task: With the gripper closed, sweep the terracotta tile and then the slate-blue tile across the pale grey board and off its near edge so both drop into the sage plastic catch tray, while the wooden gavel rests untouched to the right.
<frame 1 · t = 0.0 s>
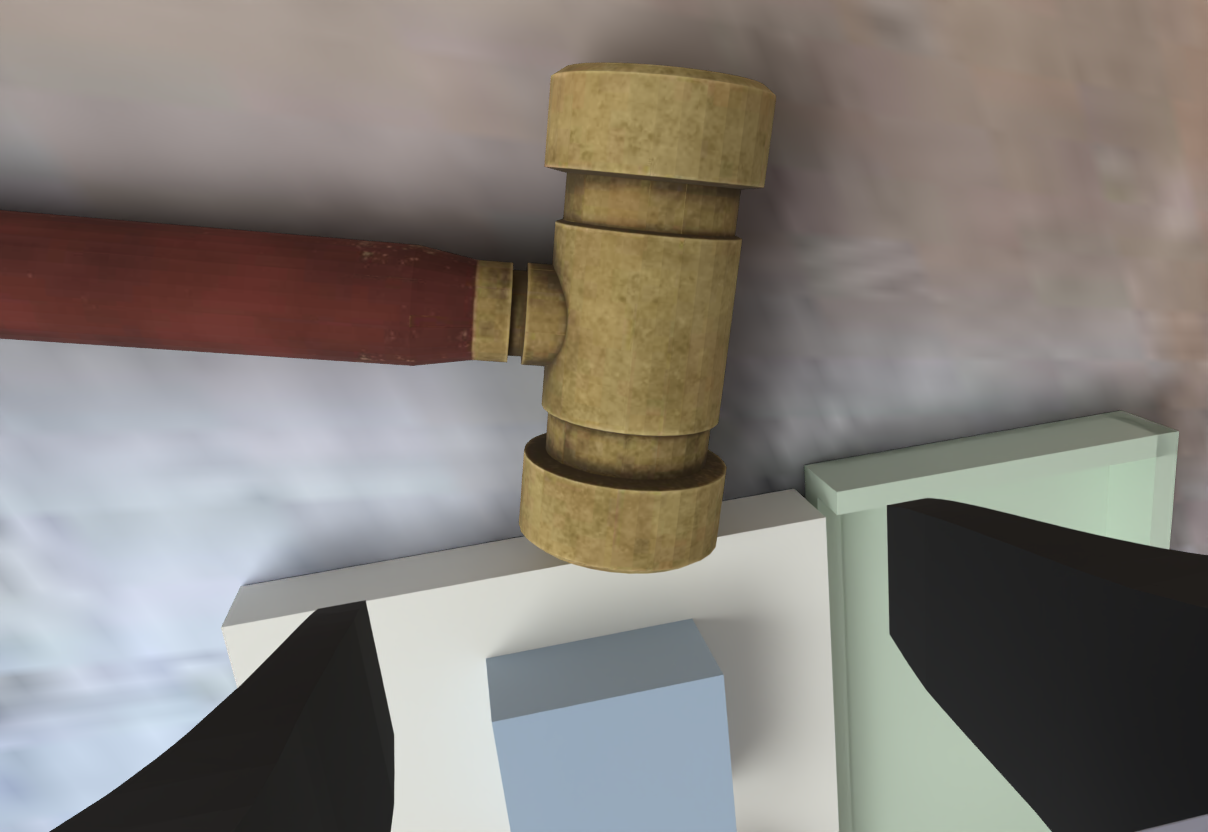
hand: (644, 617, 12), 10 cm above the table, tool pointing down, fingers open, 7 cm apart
tile slate: (602, 727, 22), point 2 cm above the table, touching board
gavel: (265, 281, 20), on the table
board: (568, 798, 24), on the table
tray: (964, 711, 26), on the table
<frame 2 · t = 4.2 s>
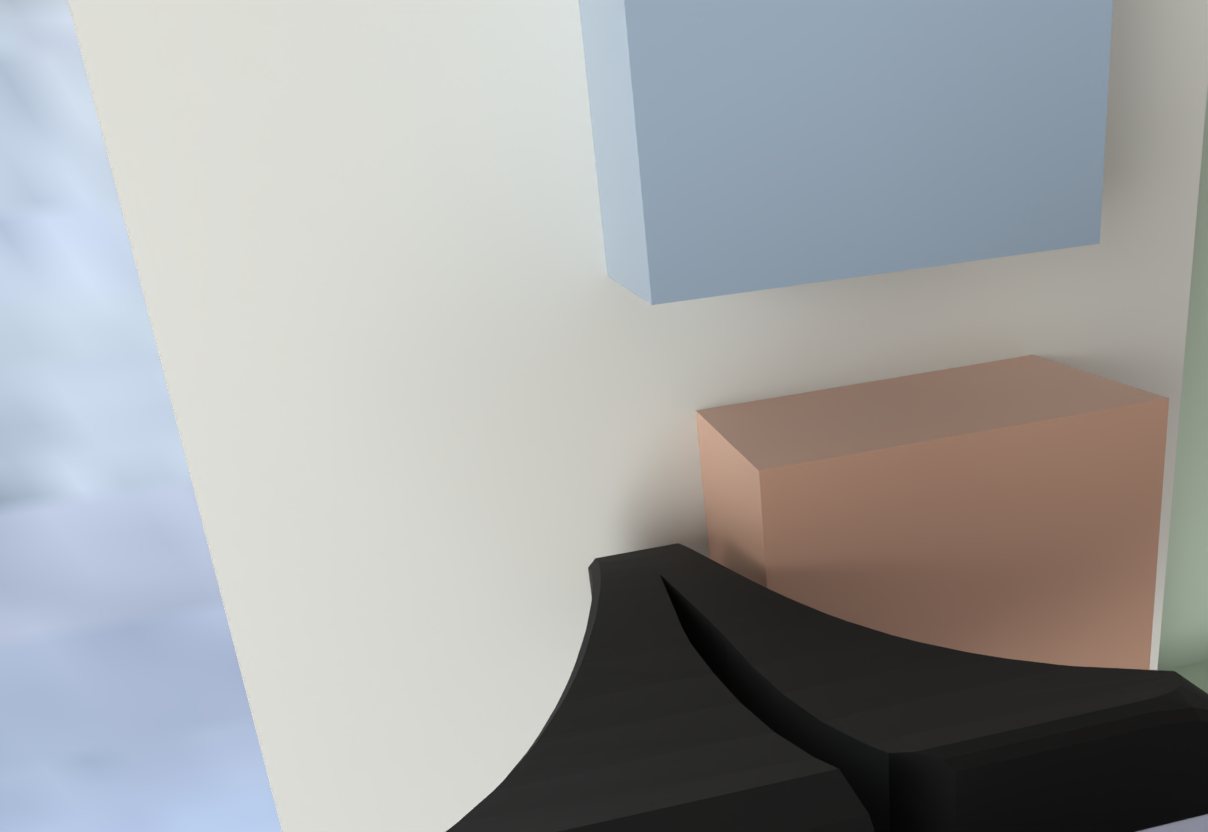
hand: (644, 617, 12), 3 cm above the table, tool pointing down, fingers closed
tile slate: (784, 47, 11), point 2 cm above the table, touching board
board: (685, 312, 14), on the table
tile terracotta: (873, 544, 13), point 2 cm above the table, touching gripper
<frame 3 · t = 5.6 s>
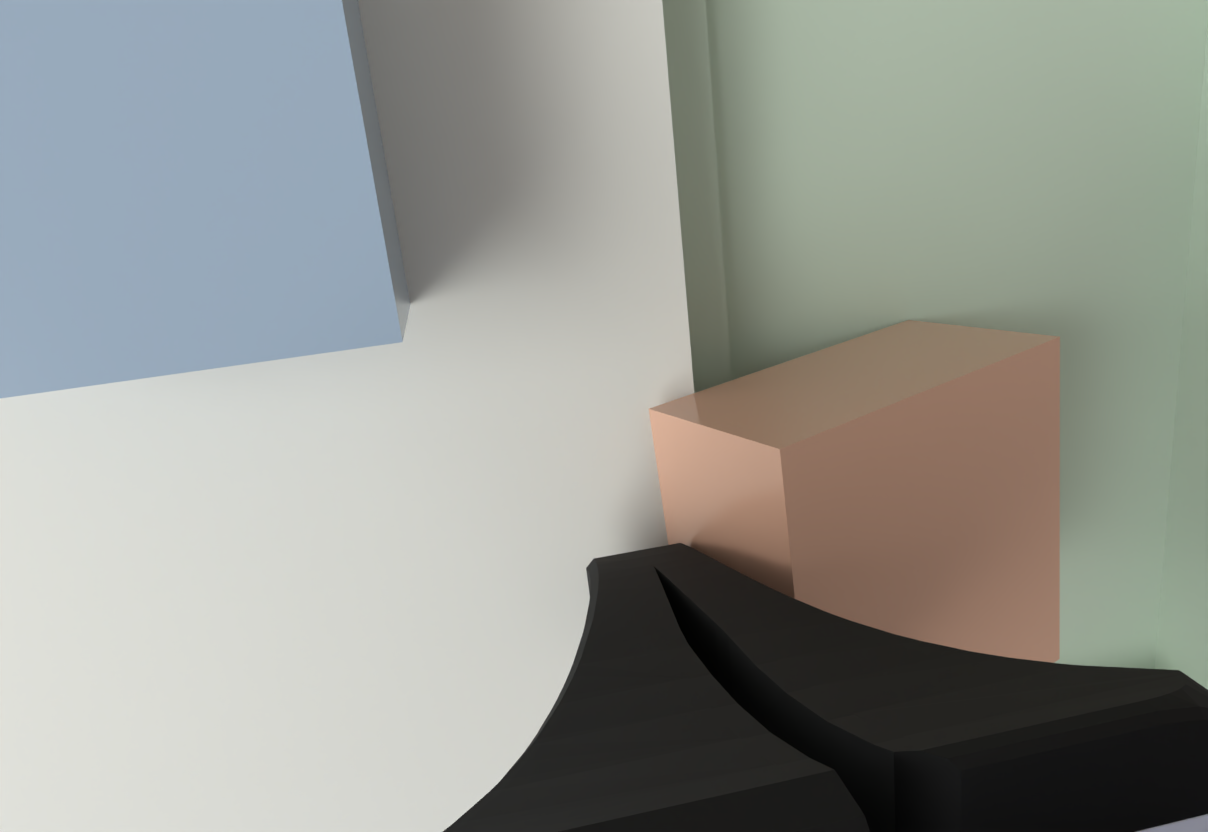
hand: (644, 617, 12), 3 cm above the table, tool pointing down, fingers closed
tile slate: (146, 113, 10), point 2 cm above the table, touching board
board: (179, 385, 13), on the table
tile terracotta: (805, 517, 13), point 1 cm above the table, tilted 22°, touching board
tray: (949, 276, 14), on the table
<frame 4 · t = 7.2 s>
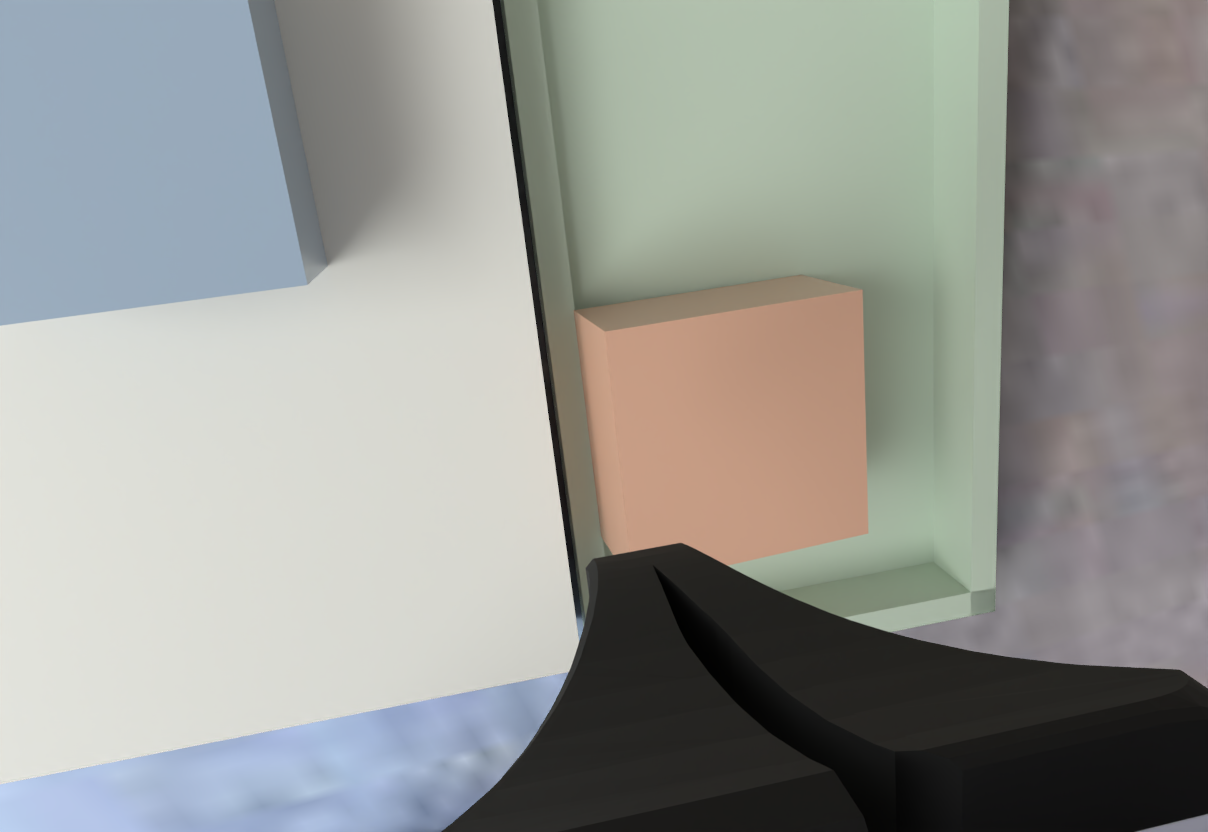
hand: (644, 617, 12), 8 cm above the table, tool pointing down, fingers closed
tile slate: (141, 133, 15), point 2 cm above the table, touching board
board: (168, 329, 17), on the table
tile terracotta: (699, 406, 19), point 1 cm above the table, touching tray
tray: (749, 250, 19), on the table
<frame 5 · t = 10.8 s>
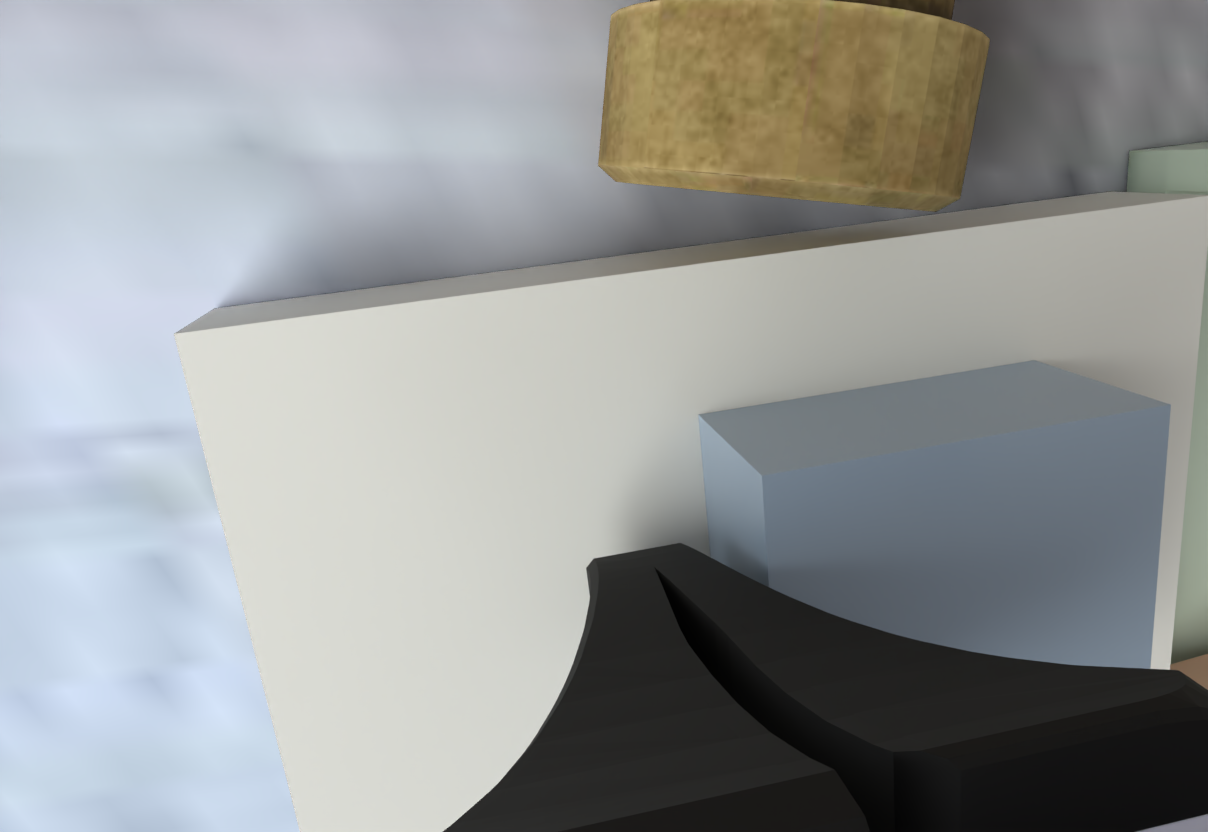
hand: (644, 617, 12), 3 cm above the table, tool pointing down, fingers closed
tile slate: (874, 549, 13), point 2 cm above the table, touching gripper
board: (729, 699, 16), on the table
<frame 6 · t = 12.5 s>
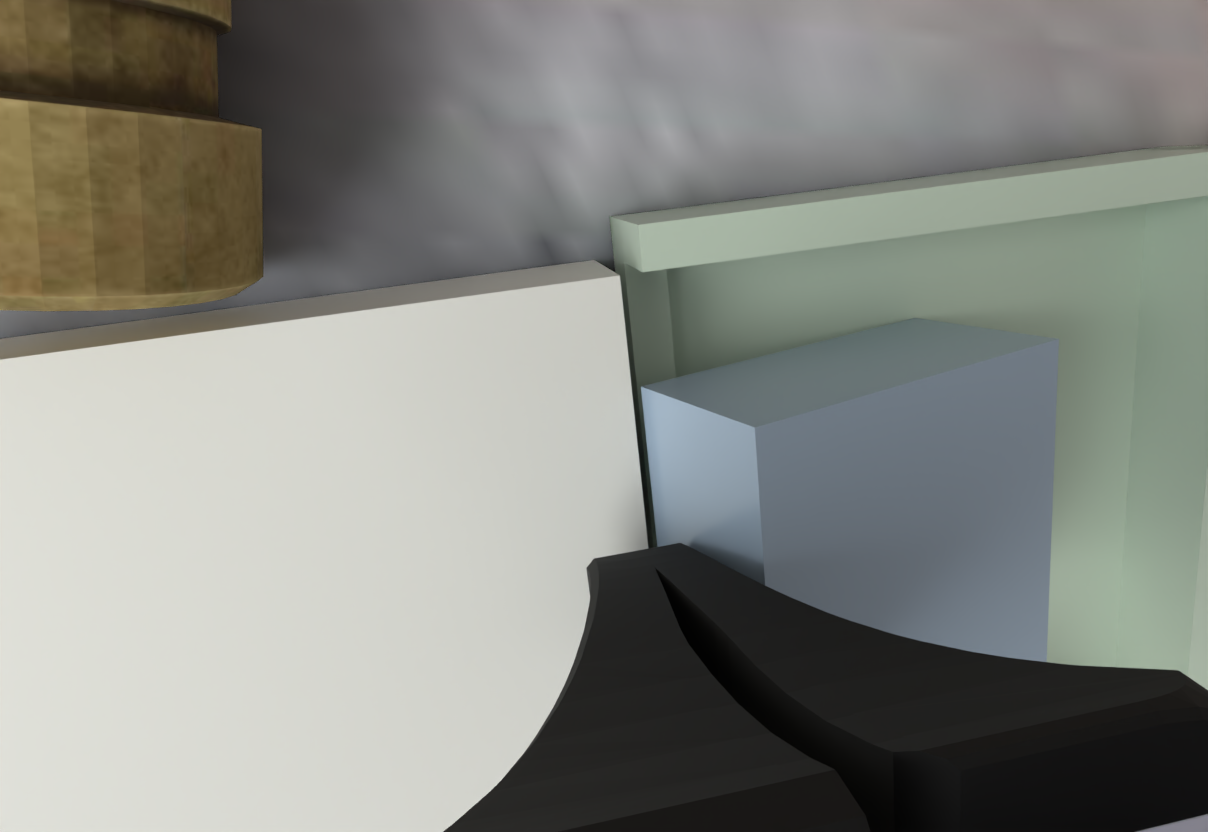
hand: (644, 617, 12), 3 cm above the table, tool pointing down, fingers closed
tile slate: (797, 507, 14), point 1 cm above the table, tilted 18°
board: (231, 803, 15), on the table
tray: (905, 663, 16), on the table
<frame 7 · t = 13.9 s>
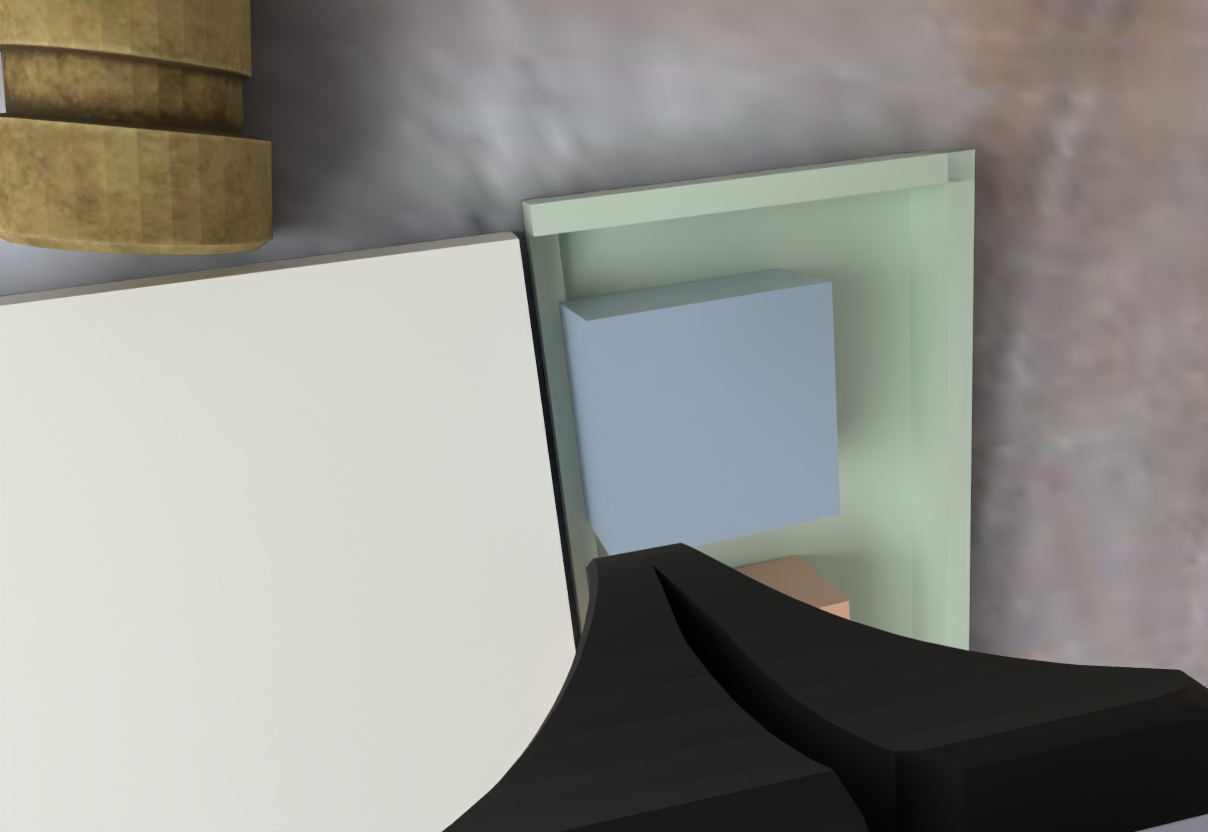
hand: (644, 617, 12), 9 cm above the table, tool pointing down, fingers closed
tile slate: (680, 395, 20), point 1 cm above the table, touching tray
board: (256, 622, 20), on the table
tile terracotta: (710, 666, 22), point 1 cm above the table, touching tray
tray: (753, 532, 22), on the table
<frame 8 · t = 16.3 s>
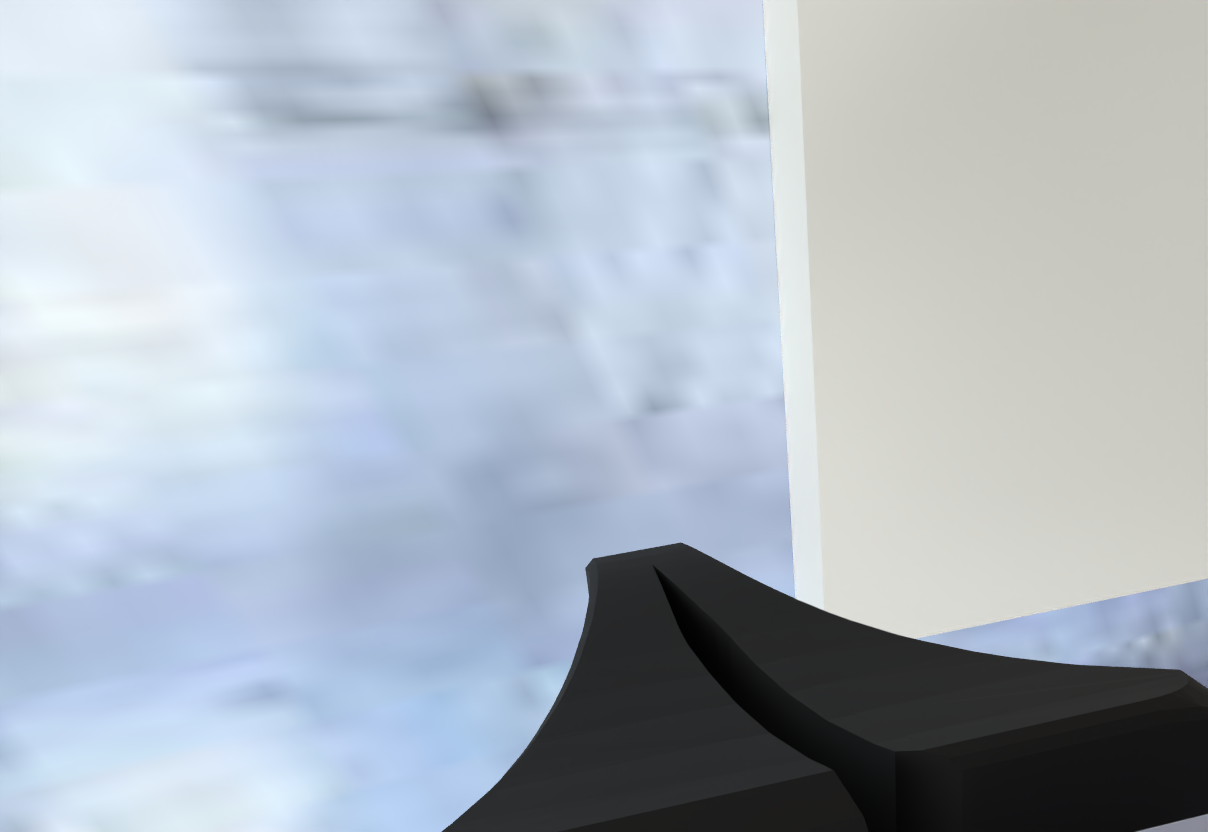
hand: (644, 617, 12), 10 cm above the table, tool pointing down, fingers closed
board: (1034, 299, 23), on the table
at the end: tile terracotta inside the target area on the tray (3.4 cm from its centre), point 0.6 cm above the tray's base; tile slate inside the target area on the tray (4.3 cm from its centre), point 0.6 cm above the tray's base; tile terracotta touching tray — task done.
